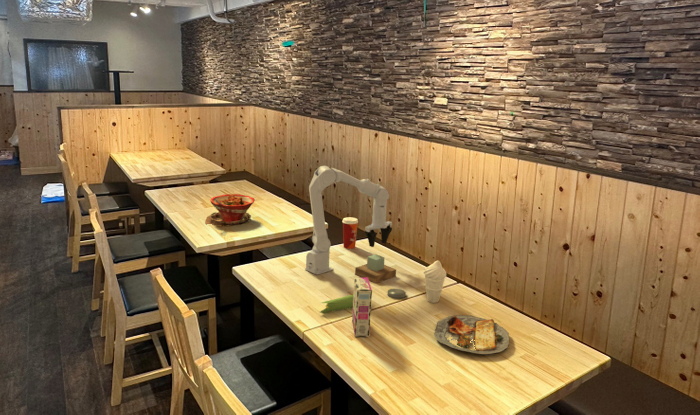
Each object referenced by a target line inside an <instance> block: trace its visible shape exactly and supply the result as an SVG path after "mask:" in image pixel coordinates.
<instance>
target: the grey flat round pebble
mask: <svg viewBox="0 0 700 415" xmlns="http://www.w3.org/2000/svg"><path fill="white" fill-rule="evenodd" d="M386 293H387V294H386V295H387V296H388V297H389V298H391V299H394V300H400V299H402V300H403V299H404V298H406V295H407V294H406V293H407V292H406V291H405V290H404V289H402V288H390V289H388V290H387V292H386Z"/></svg>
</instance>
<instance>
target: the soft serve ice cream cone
mask: <svg viewBox="0 0 700 415" xmlns="http://www.w3.org/2000/svg"><path fill="white" fill-rule="evenodd" d="M423 270H424V271H423V274H424V280H425V282H424V284H425V285H424V288H425V293H426V300H427V302H429V303H432V304H438V303H439V300H440V297H441V293H442V292H443V289H444V287H443V286H444V282H445V279H446V278H447V272H446V270H445V269H444V267H442V263H441V261H440V260H436V261H435V260H434V262H433V263H432V264H430V265H429V266H426V267H425V269H423Z"/></svg>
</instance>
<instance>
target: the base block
mask: <svg viewBox="0 0 700 415" xmlns="http://www.w3.org/2000/svg"><path fill="white" fill-rule="evenodd" d="M354 268H355V272H354V274H355V275H357V277H368V279H369V282H372V283H373V284H378V283H380V282H383V281H386V280H389V279H391V278H395V277H396V276H397V269H396V268H393V267H390V266H388V265H386V264H384V269H382V270H379V271H376V272H375V271H373V270H371V269H368V268H367V263H366V264H365V263H364V264H363V265H359V266H356V267H354Z"/></svg>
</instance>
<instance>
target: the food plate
mask: <svg viewBox="0 0 700 415" xmlns="http://www.w3.org/2000/svg"><path fill="white" fill-rule="evenodd" d="M470 332H471V333H472V334H471V333H470ZM433 336H434V338H435V339H436V341H437V342H439V343H441V344H443V345H447V346H448V347H450V348H453V349H455V350H458V351H461V352H467V353H471V354H479V355H491V354H496V353H500V352H503V351H505V350H506V349H507V348H508V347H509V344H510V343H509V342H510V341H509V340H510V333H509V332H508V331H507V330H506V328H504V327H502V326H501V325H499V324H498V323H497V322H495V320H494V319H492V318H491V319H486V318H482V317H478V316H475V315H465V314H462V315H461V314H459V315H458V314H457V315H448V316H446V317H444V318H440V319H439V320H438V321H437V322H436V326H435V329H434V332H433ZM471 336H472V337H471ZM449 338H451V339H449ZM472 339H473V341H471V340H472ZM456 340H457V341H456ZM474 340H475V341H474ZM451 341H456V345H455V344H454V343H452V342H451ZM470 341H471V342H473V343H474V345H475V346H474V345H473V346H474V347H475V349H476V350H475V349H469V348H470V346H472V344H473V343H472V344H470ZM457 345H458V346H457ZM462 347H463V348H462ZM468 347H469V348H468ZM474 347H473V348H474Z"/></svg>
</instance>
